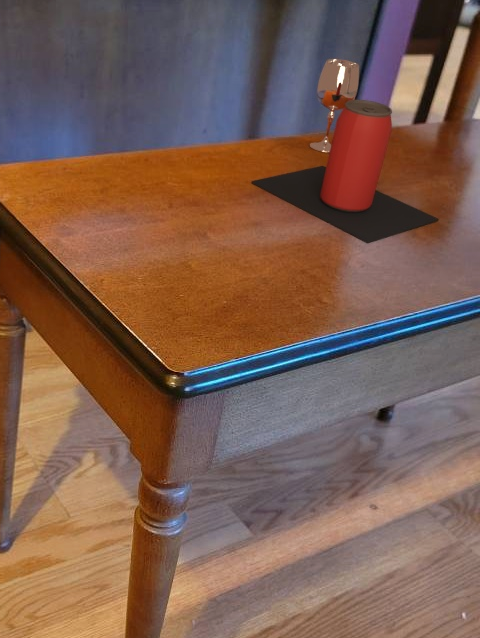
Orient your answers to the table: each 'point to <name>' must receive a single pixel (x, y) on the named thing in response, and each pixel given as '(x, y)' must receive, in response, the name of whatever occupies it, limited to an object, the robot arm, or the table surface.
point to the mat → (365, 225)
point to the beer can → (356, 155)
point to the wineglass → (335, 92)
